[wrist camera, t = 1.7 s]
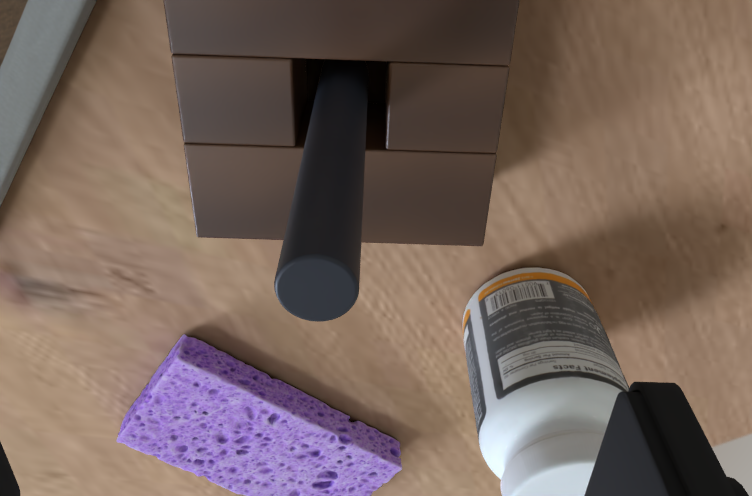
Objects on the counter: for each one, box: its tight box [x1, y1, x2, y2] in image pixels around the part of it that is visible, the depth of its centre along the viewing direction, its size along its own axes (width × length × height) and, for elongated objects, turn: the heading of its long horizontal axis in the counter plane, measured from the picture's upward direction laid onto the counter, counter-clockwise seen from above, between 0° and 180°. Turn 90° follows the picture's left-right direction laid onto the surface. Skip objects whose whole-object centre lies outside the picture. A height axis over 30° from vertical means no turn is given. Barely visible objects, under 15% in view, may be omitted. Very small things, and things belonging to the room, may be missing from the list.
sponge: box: [117, 334, 402, 496], centre depth 33 cm, size 7×13×2 cm, turn 54°
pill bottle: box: [462, 267, 629, 496], centre depth 25 cm, size 6×6×10 cm
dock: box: [164, 0, 519, 246], centre depth 22 cm, size 10×10×4 cm
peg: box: [274, 59, 369, 321], centre depth 18 cm, size 2×2×13 cm
